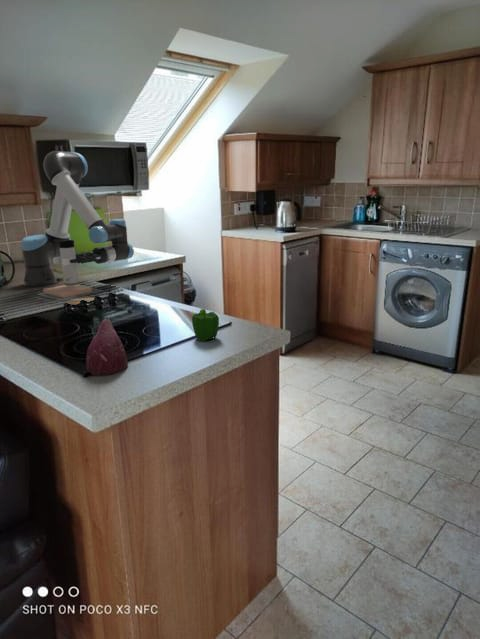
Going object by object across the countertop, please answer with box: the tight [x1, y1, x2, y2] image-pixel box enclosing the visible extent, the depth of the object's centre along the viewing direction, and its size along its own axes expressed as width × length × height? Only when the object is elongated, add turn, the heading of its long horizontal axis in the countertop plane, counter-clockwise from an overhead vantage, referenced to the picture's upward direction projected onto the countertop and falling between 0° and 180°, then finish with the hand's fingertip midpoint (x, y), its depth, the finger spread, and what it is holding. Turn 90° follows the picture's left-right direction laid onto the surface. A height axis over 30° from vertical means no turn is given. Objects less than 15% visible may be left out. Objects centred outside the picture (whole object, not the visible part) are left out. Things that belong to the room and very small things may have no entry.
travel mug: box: [59, 239, 80, 286], centre depth 204 cm, size 6×7×20 cm
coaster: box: [65, 296, 95, 306], centre depth 190 cm, size 12×12×1 cm
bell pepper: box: [191, 308, 220, 341], centre depth 142 cm, size 8×8×10 cm
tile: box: [43, 284, 92, 298], centre depth 206 cm, size 2×16×14 cm
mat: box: [36, 287, 105, 301], centre depth 208 cm, size 22×20×1 cm
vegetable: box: [85, 316, 129, 377], centre depth 122 cm, size 10×10×15 cm
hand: (58, 261), depth 200 cm, fingers closed on travel mug, 6 cm apart
